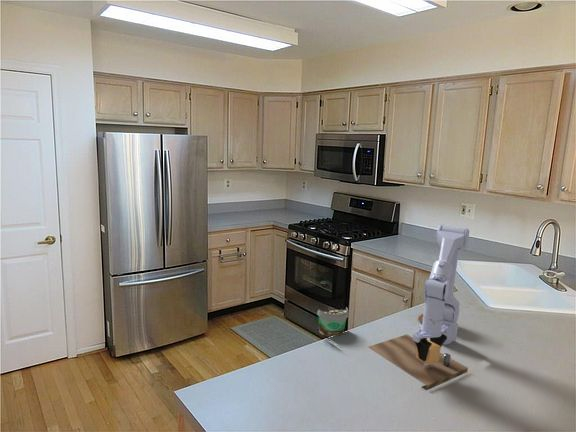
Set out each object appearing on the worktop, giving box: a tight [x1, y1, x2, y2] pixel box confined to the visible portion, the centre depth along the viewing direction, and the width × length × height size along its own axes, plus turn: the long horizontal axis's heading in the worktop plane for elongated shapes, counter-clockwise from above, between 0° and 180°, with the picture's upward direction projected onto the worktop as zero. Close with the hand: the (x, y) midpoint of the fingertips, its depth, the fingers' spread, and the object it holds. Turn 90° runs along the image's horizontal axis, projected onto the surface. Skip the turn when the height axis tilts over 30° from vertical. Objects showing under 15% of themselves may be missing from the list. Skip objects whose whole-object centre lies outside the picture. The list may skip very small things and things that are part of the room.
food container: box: [316, 306, 350, 340], centre depth 143 cm, size 12×6×10 cm, turn 105°
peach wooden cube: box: [416, 339, 442, 365], centre depth 123 cm, size 5×5×5 cm
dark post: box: [443, 353, 451, 367], centre depth 125 cm, size 2×2×5 cm
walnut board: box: [367, 334, 469, 391], centre depth 130 cm, size 20×25×2 cm
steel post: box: [423, 363, 431, 369], centre depth 123 cm, size 2×2×5 cm
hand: (427, 357), depth 123 cm, fingers closed on peach wooden cube, 5 cm apart
